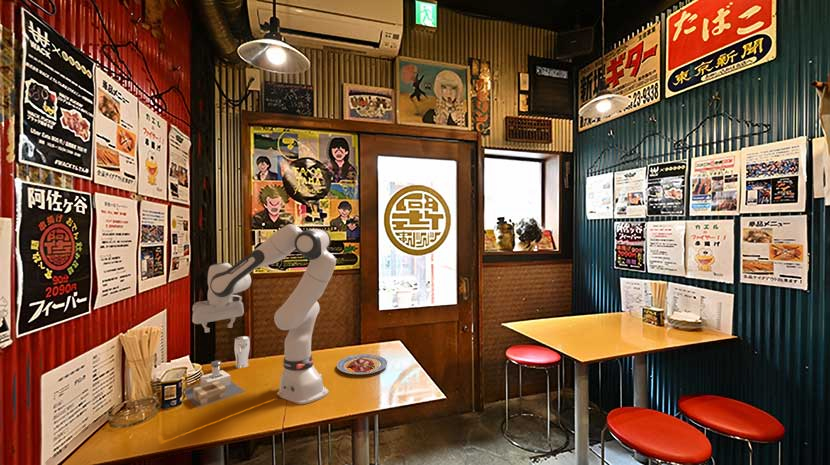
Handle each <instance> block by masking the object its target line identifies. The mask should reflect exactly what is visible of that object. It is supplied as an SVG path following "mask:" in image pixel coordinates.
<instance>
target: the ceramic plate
mask: <svg viewBox="0 0 830 465" xmlns="http://www.w3.org/2000/svg"><path fill="white" fill-rule="evenodd" d="M363 358H369V359H375V360H377V361H378V362H380V364H381V365H380V367H379V366H378V367H379V368H378V367H377V368H378V369H376V370H373V371H369V370H371V369H373V368H374V369H375V366H376V365H374V364H375V363H374V362H373V361H372V360H369V359H363ZM356 359H357V360H356ZM353 360H354V361H353ZM350 361H353V362H351V363H350V364H349V365H348V366H347V368H351V369H352V370H354V371H355V372H350V371H348V370H347V369H346V368H345V365H346V364H347V363H348V362H350ZM387 365H388V361H387V359H386V358H384V357H383V356H380V355H377V354H376V355H375V354H371V353H370V354H368V353H367V354H366V353H363V354H360V353H359V354H352V355H349V356H346V357H344V358H341V359H340V360H339V361H337V363H336V367H337V369H338V370H339V371H341V372H343V373H346V374H351V375H368V374H374V373H377V372H379V371H382V370H384V369H385V368H386V367H387ZM372 367H373V368H372ZM367 371H369V372H367Z"/></svg>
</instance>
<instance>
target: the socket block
mask: <svg viewBox="0 0 830 465" xmlns="http://www.w3.org/2000/svg"><path fill="white" fill-rule="evenodd" d="M231 379H232V378H231V374H229V373H227V372H226V371H225V370H223V369H222V370H221V369H220V377H217V378H214V379H212V372H211V373H207V374H203V375H201V376H200V384H201V386H202V385H206V384H209V383H212V382H215V381H218V382H219V383H221V384H222V385H223V386H227V385H231V381H232V380H231Z"/></svg>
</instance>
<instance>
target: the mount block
mask: <svg viewBox="0 0 830 465" xmlns="http://www.w3.org/2000/svg"><path fill="white" fill-rule="evenodd" d="M224 397H226V387H225V386H223V385H222V384H221V383H219V382H218V381H215V382H212V383H209V384H206V385H202V386H199V387H196V388H193V398H194V399H195V400H196V401H197V402H198V403H199V404H200V405H204V404H207V403H210V402H213V401H216V400H218V399H221V398H224ZM216 402H217V401H216ZM213 403H214V402H213Z"/></svg>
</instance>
